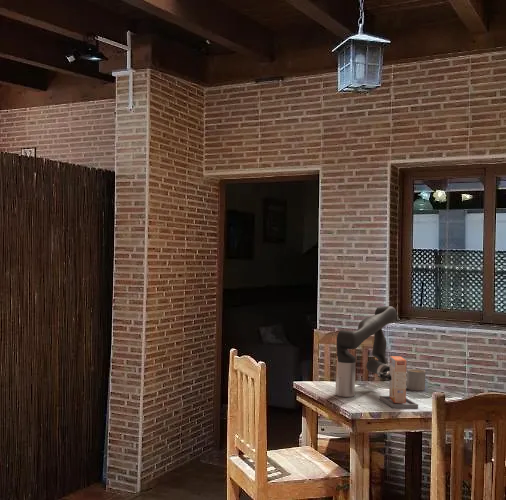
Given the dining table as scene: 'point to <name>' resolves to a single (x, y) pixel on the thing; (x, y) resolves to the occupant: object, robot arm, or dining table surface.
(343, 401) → the dining table surface
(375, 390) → the dining table surface
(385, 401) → the tray
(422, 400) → the dining table surface
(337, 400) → the dining table surface
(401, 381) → the cracker box
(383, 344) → the robot arm
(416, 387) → the coffee mug
